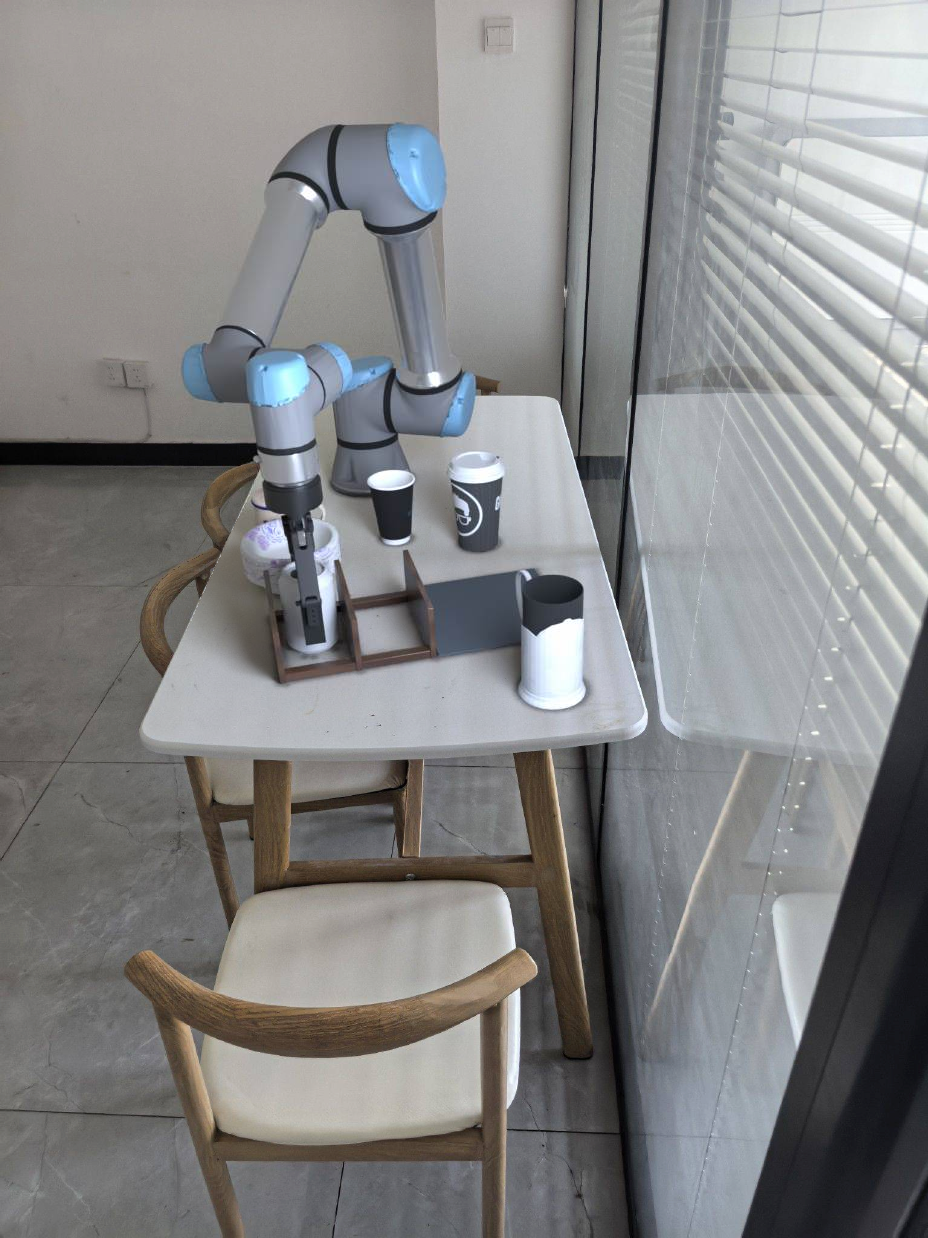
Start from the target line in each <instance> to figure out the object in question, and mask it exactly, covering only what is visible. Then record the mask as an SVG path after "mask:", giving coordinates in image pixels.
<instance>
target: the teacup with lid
mask: <svg viewBox="0 0 928 1238" xmlns="http://www.w3.org/2000/svg"><path fill="white" fill-rule="evenodd" d="M250 504H251V505H252V506H253V512H254V519H255V524H256V525H255V526H259V525H261V524H263V523H266V522H269V521H273V520H277V519H281V515H284V514H276V513H273V512H271V511H270V510H269V509H268V508H267V507H266V505H265V499H264V493H263V487H261V488H259V489H257V490H255V492H254V493H252V496H251V500H250ZM317 509H319V510H320V511H321V517H320V518H319V519H320V520H324V521H326V517H327V510H326V507H325V505H324V504H322V503H321V505H320V506H319V507H317Z"/></svg>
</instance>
